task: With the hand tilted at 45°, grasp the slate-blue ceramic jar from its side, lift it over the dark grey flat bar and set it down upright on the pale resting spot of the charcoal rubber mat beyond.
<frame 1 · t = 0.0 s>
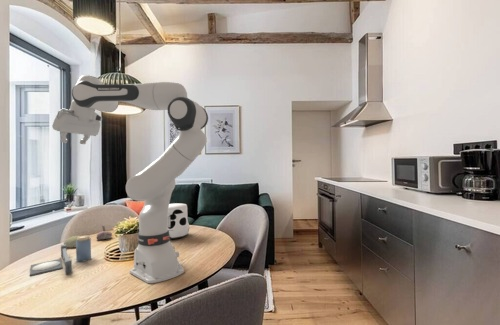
hand: (73, 143, 108), 52 cm above the table, tool tilted 20°, fingers open, 8 cm apart
sea urchin shell: (74, 246, 131), on the table
resting mat: (46, 267, 103), on the table
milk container: (174, 237, 143), on the table
ceramic jar: (83, 259, 112), on the table
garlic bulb: (104, 239, 141), on the table
dark grey flat bar: (66, 263, 107), on the table
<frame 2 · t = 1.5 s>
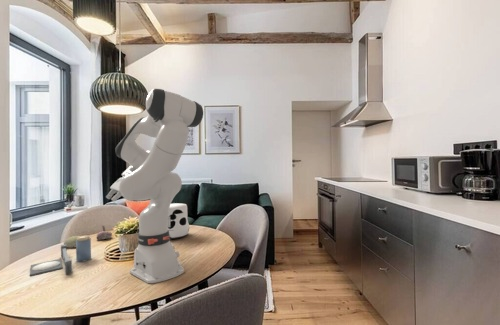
hand: (109, 199, 119), 26 cm above the table, tool tilted 45°, fingers open, 8 cm apart
nothing on the table moved.
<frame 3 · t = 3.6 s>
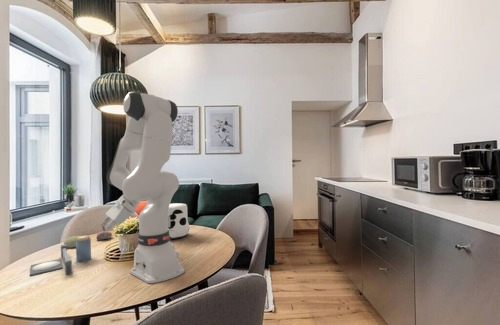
hand: (103, 227, 117), 13 cm above the table, tool tilted 45°, fingers open, 8 cm apart
nothing on the table moved.
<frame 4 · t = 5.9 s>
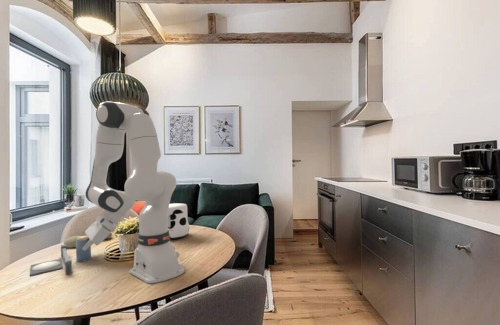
hand: (81, 247, 111), 5 cm above the table, tool tilted 45°, fingers closed on ceramic jar, 5 cm apart
ceramic jar: (83, 259, 112), on the table, touching gripper
everything else where it was.
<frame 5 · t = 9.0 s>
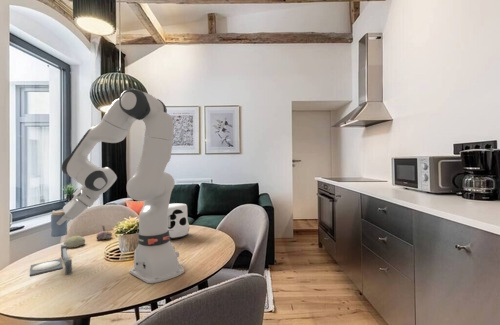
hand: (57, 222, 106), 18 cm above the table, tool tilted 45°, fingers closed on ceramic jar, 5 cm apart
ceramic jar: (59, 234, 107), point 13 cm above the table, touching gripper
everything else where it was.
when the fingers open (8 cm above the table, at t = 11.7 s): ceramic jar drops 1 cm, resting on resting mat.
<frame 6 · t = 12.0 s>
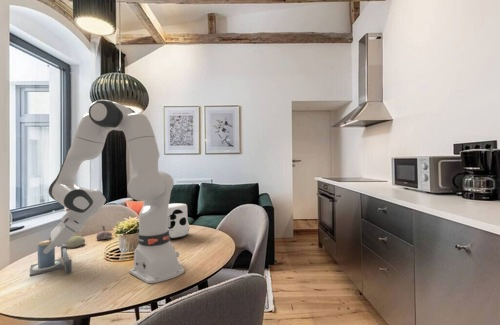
hand: (44, 249, 103), 8 cm above the table, tool tilted 45°, fingers open, 8 cm apart
ceramic jar: (46, 265, 103), point 1 cm above the table, touching resting mat
everything else where it was.
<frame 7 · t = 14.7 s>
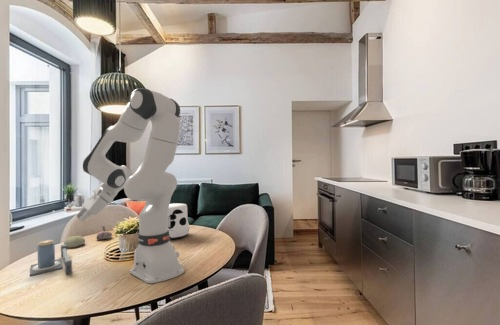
hand: (79, 218, 111), 18 cm above the table, tool tilted 45°, fingers open, 8 cm apart
nothing on the table moved.
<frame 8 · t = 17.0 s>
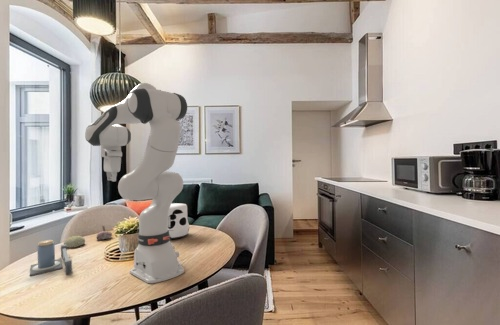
hand: (111, 180, 124), 34 cm above the table, tool pointing down, fingers open, 8 cm apart
nothing on the table moved.
at the end: ceramic jar inside the target area on the resting mat (0.0 cm from its centre), point 0.8 cm above the resting mat's base; ceramic jar tilted 0°; the gripper is holding nothing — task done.
